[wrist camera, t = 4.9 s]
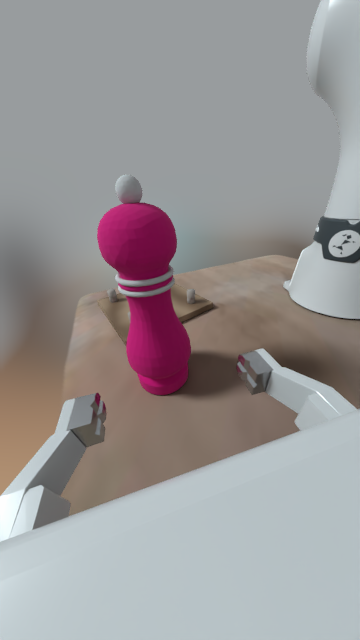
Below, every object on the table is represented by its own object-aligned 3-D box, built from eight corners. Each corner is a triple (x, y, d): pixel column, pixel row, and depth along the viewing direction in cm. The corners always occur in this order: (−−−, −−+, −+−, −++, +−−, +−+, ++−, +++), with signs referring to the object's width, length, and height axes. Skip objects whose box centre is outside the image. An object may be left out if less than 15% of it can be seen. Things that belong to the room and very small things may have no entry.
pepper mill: (125, 375, 23) (51, 182, 12) (166, 346, 27) (140, 181, 16) (160, 413, 19) (94, 160, 8) (204, 371, 23) (203, 166, 12)
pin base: (166, 283, 48) (164, 269, 46) (212, 307, 36) (213, 290, 34) (98, 305, 40) (92, 290, 38) (127, 347, 28) (120, 328, 26)
